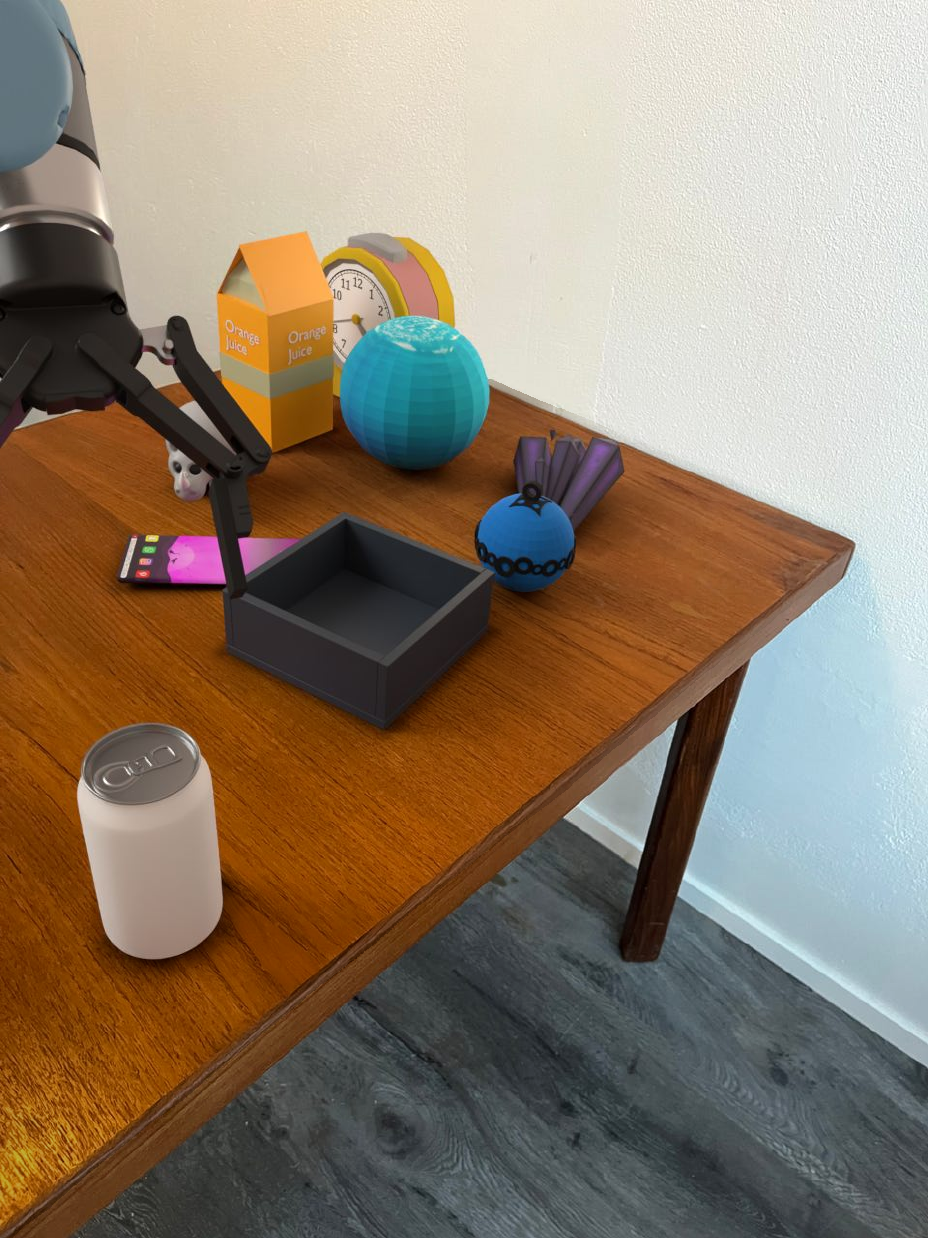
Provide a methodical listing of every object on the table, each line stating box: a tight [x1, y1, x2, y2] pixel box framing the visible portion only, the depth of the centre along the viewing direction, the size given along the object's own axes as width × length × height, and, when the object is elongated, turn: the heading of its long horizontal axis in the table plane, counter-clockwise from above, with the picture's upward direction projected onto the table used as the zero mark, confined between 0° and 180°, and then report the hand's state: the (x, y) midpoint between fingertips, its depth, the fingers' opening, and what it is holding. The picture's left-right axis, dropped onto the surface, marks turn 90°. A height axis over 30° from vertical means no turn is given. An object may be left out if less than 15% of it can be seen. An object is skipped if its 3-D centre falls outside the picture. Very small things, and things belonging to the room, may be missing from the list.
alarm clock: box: [320, 232, 456, 398], centre depth 109 cm, size 15×8×18 cm, turn 50°
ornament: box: [473, 481, 578, 593], centre depth 82 cm, size 9×9×10 cm
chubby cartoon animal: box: [165, 400, 236, 503], centre depth 90 cm, size 7×12×8 cm, turn 176°
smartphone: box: [116, 533, 301, 586], centre depth 83 cm, size 7×15×1 cm, turn 97°
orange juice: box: [216, 230, 334, 454], centre depth 99 cm, size 8×9×20 cm
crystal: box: [512, 429, 625, 532], centre depth 96 cm, size 7×12×20 cm
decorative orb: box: [339, 316, 490, 471], centre depth 97 cm, size 15×15×15 cm
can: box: [76, 722, 224, 960], centre depth 51 cm, size 6×6×12 cm
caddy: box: [222, 511, 495, 731], centre depth 75 cm, size 15×15×6 cm
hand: (114, 614), depth 53 cm, fingers open, 13 cm apart
